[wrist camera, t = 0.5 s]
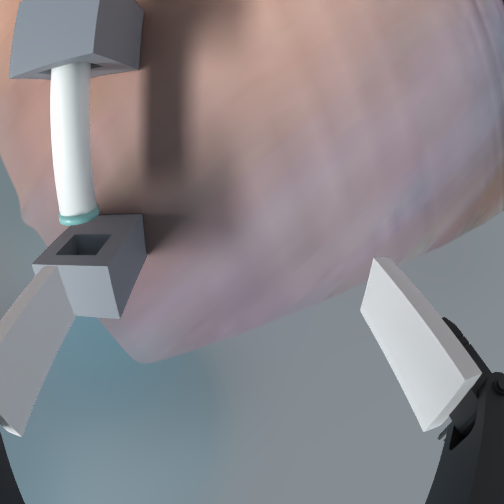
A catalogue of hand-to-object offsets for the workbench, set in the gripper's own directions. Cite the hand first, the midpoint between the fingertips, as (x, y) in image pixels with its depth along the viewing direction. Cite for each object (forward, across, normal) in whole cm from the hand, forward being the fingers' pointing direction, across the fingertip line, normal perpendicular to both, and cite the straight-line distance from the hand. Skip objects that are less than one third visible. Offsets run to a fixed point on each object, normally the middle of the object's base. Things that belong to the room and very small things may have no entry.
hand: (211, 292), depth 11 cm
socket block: (+25, -15, -9) cm, 30 cm away
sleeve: (+25, -14, +16) cm, 33 cm away
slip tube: (+19, -14, +10) cm, 25 cm away
